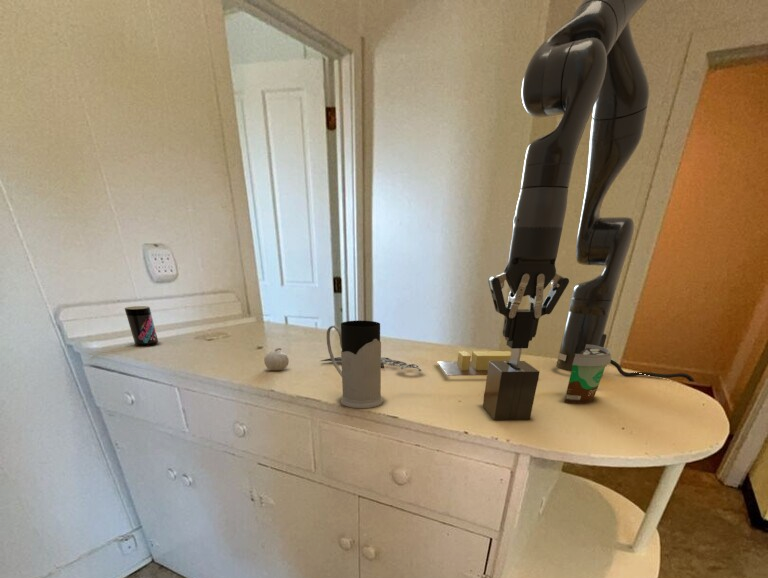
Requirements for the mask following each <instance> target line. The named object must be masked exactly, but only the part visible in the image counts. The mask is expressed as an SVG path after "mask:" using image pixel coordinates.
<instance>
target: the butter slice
mask: <svg viewBox="0 0 768 578" xmlns="http://www.w3.org/2000/svg"><path fill="white" fill-rule="evenodd" d="M471 358H472V355H471V354H469V353H468V352H467V351H465V350H463V351H462V350H461V351H460V350H459V351H458V353H457V360H456V361H457V366H458V367H459V368H460V369H461V370H469V368H470V361H471Z"/></svg>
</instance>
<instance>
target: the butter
mask: <svg viewBox="0 0 768 578" xmlns="http://www.w3.org/2000/svg"><path fill="white" fill-rule="evenodd" d="M510 356H511V350H508V351H507V350H498V351H497V350H496V351H495V350H494V351H493V350H488V351H486V350H484V351H483V350H481V351H480V350H479V351H477V350H476V351H475V350H472V352H471V359H470V361H471V366H472V367H473V368H474V369H475V370H488V366H489V361H510Z"/></svg>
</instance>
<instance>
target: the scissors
mask: <svg viewBox="0 0 768 578" xmlns="http://www.w3.org/2000/svg"><path fill="white" fill-rule="evenodd" d="M334 359H335V361H336V362H341V356H340V357H339V356H338V357H337V356H336V357H334ZM320 362H332V360H331V358H325V359H322V360H320ZM385 365H387V366H393V367H400V368H399V370H401V371H403V369H408V368H409V369H411V368H412V369H416V370H417V372H422V370H423V369H421V368H420V367H419V365H417V364H414V363H408V362H404V361H399V360H395V359H391V358H390V357H385V356H384V357H382V356H381V368H385Z"/></svg>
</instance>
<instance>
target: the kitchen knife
mask: <svg viewBox="0 0 768 578" xmlns="http://www.w3.org/2000/svg"><path fill="white" fill-rule="evenodd" d="M514 318H515V319H516V320H515V326H514V332H513V338H512V341H507V340H506V344H505V345H506V346H507V347H509V348H510V351H511V356H510V362H509V366H511V367H512V368H513V369H515V370H518V367H519V362H520V361H521V355H522V350H523V349H529V344H530V341H529V339H530V334H531V329H532V323H533V318H534V311H531V310H530V308H527V309H526V308H521V309H520V308H518V310H517V313H516V316H515V317H514Z"/></svg>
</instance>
